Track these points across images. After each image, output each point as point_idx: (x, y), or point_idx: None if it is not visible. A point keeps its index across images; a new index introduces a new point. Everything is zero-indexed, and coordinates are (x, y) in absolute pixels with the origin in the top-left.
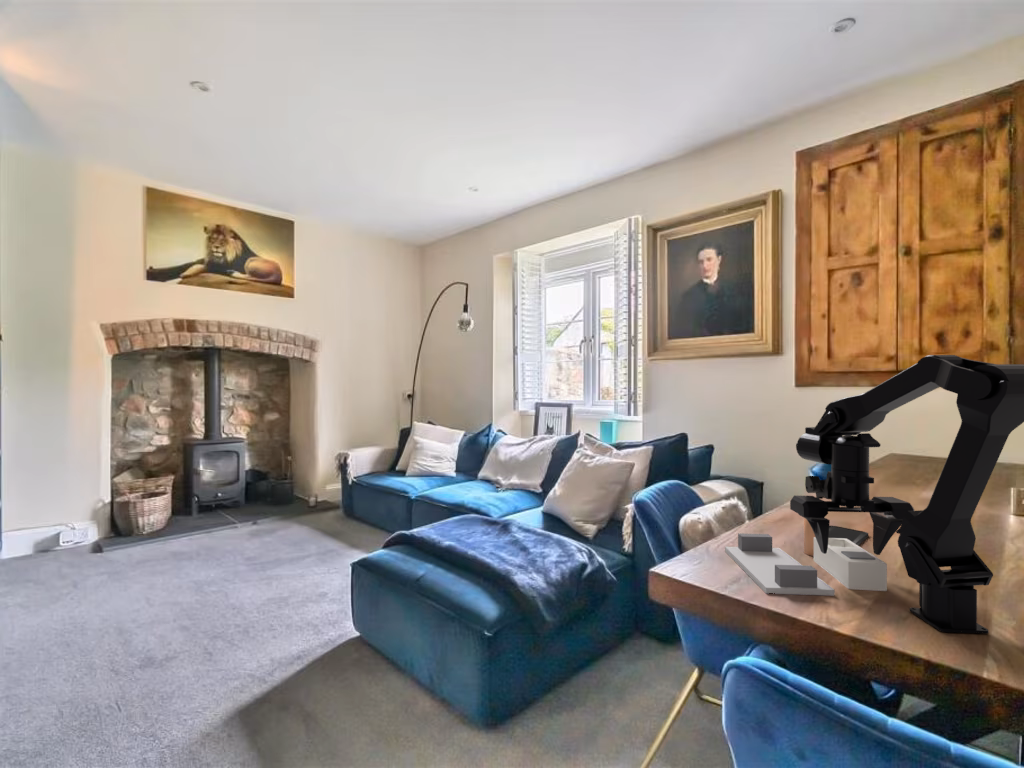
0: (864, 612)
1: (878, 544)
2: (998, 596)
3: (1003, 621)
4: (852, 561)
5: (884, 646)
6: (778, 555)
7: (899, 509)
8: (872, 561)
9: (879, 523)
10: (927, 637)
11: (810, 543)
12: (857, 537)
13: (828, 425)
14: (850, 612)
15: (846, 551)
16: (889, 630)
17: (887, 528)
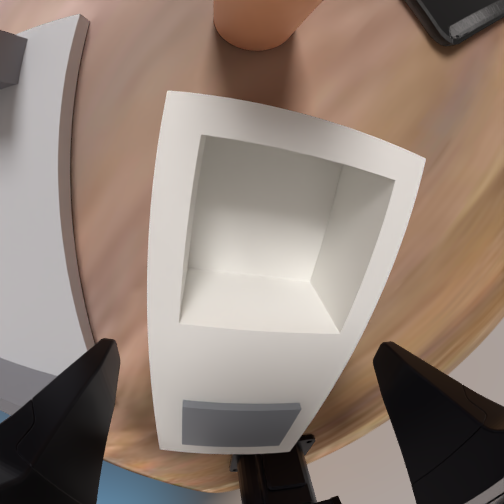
0: (145, 438)
1: (393, 403)
2: (456, 358)
3: (360, 432)
4: (176, 449)
5: (131, 470)
6: (18, 130)
7: None
8: (253, 448)
9: (459, 470)
10: (200, 469)
11: (226, 15)
12: (494, 3)
13: None
14: (120, 434)
15: (206, 411)
16: (157, 461)
17: (415, 493)
